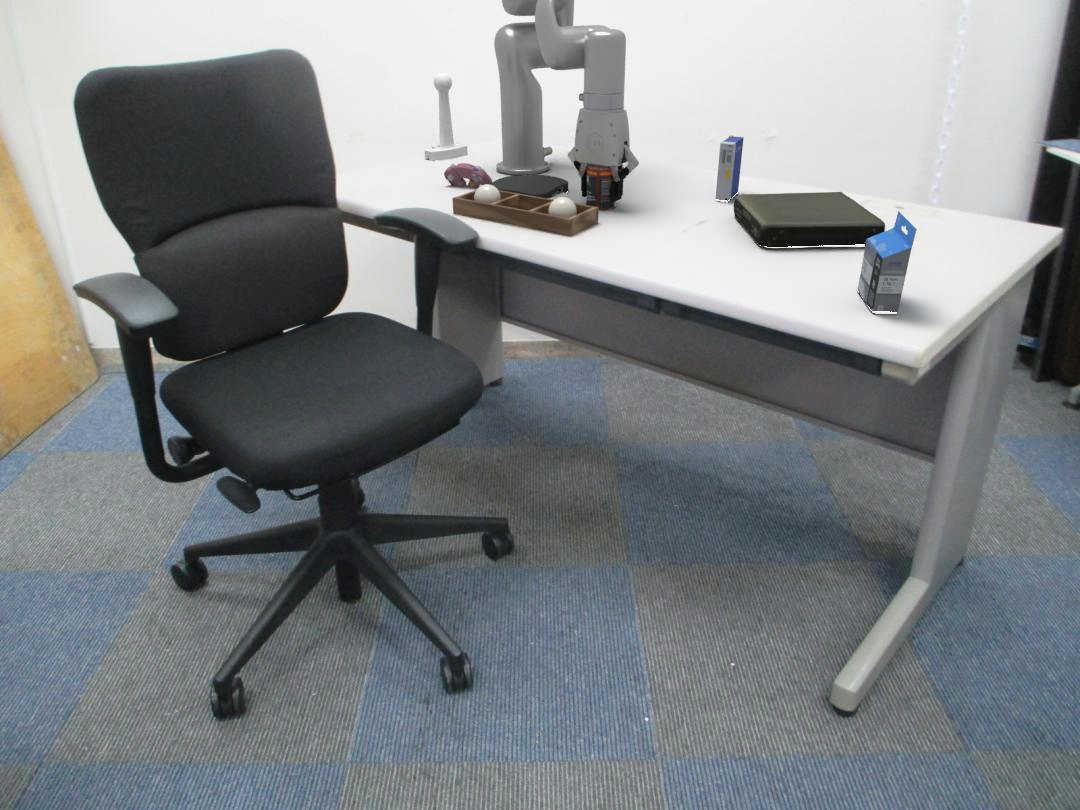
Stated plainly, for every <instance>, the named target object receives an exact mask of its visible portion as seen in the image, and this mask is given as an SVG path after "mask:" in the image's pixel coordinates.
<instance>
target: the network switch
mask: <svg viewBox="0 0 1080 810" xmlns="http://www.w3.org/2000/svg"><path fill="white" fill-rule="evenodd" d="M733 201H734V202H733V214H734V217H735V219H736V218H737V219H738V220H737V219H736V220H737V221H738V222H739V223H740V224H741V225H742V227H743V228H744V229H745V228H746V229H747V230H746V229H745V230H746V231H747V232H748V234H749V235H750V236H751V237H752V238H753V240H754V242H755V241H756V242H755V244H756V243H758V244H759V245H761V246H767V247H788V246H791V247H792V246H819V245H820V246H821V245H822V246H823V245H855V244H866V239H867V238H870V237H872V236H875V235H877V234H880V233H882V232H885V231H886V223H885V222H884V221H883V220H882V219H881V218H880V217H878V216H877V215H875V214H874V213H872V212H871V211H869V210H868V209H866V208H865V207H864V205H861V204H859V203H858V202H857V201H856V200H854V199H852V198H851V197H850V196H847V195H846V194H845V193H843V192H842V191H827V192H788V193H787V192H786V193H781V192H780V193H750V194H749V193H747V194H746V193H741V194H739V195H736V196H735V197H734V200H733ZM758 244H757V245H758ZM759 245H758V246H759ZM761 246H760V247H761Z"/></svg>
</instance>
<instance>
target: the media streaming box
mask: <svg viewBox="0 0 1080 810" xmlns="http://www.w3.org/2000/svg"><path fill="white" fill-rule="evenodd" d="M490 185H493V186H495V187H496V188H497V189H498V190H501V191H507V192H513V193H519V194H525V195H530V196H536V197H542V198H548V199H551V198H552V197H554V196H556V195H559V194H560V193H562V194H563V193H565V194H567V193H566V192H567V191H568V192H569V182H568V180H566V179H563V178H560V177H557V176H553V175H548V174H530V175H507V176H503V177H500V178H498V179H496V180H494V181H492V183H491V184H490Z"/></svg>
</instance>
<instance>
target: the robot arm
mask: <svg viewBox="0 0 1080 810" xmlns="http://www.w3.org/2000/svg"><path fill="white" fill-rule="evenodd" d="M501 3H502V8H503V10H504V11H505V13H506V14H508V15H511V16H514V17H515V16H517V17H532V16H533V17H534V21H526V22H513V23H512V22H511V23H508V24H505V25H503V26H501V27H499V29H498V30H497V31H496V32H495V37H494V43H493V44H494V47H493V48H494V53H495V57H496V58H495V59H496V65H497V70H498V74H499V75H498V79H499V90H500V91H499V93H500V113H501V114H500V118H501V145H502V147H501V149H502V152H501V153H502V161H500V162H498V163H497V164H496V171H497V172H499V173H501V174H505V175H511V176H518V175H531V174H537V175H539V174H542V173H545V171H546V172H547V170H548V171H549V170H550V167H551V166H550V165H551V164H550V163H549V162H548V161H546V160H545V158H546V156H547V157H548V156H550V155H552V154H553V148H552V147H551V146H546V147H545V146H544V139H543V137H544V136H543V135H544V134H543V133H544V131H543V129H544V128H543V125H544V124H543V122H544V121H543V90H542V87H541V84H540V82H539V81H538V80H537V78H536V77H535V75H534V74H533V71H532V70H536V69H549V68H550V69H552V70H554V71H569V70H571V71H572V70H581V69H582V70H584V71H583V93H582V92H581V93H579V95H578V100H579V101H582V105H583V107H581V108H579V111H578V115H577V116H578V117H577V120H576V126H575V127H576V128H575V138H574V146H573V147H572V149H570V151H569V152H568V153H567V157H568V159H569V160H570V161H571V162H572V164H573V166H574V168H575V170H577V172H578V173H577V174H578V176H580V191H581V198H587V166H588V164H589V165H596V166H603V167H610V168H611V171H612V175H613V178H614V181H612V182H611V202H616V203H617V202H618V201H621V199H622V197H623V196H624V194H623V193H624V180H625V179H626V178H627V177H628V175H630V174H631V173H632V171H633V170H635V168H637V167H638V165H639V164H640V161H639V160H638V158H637V157H636V156H635V154H634V153H633V152H632V150H631V149H630V147H631V146H630V145H631V144H630V127H629V125H630V124H629V117H628V112H627V110H626V109H625V84H626V83H625V80H626V75H625V74H626V51H627V50H626V49H627V37H626V34H625V33H624V32H623V31H622V30H620V29H615V28H609V27H608V26H606V25H601V24H591V25H590V24H589V25H584V24H583V25H574V17H575V16H574V15H575V14H574V13H575V0H501ZM625 163H627V164H626V165H625V166H624V164H625Z"/></svg>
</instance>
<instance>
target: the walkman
mask: <svg viewBox="0 0 1080 810" xmlns="http://www.w3.org/2000/svg"><path fill="white" fill-rule="evenodd" d="M719 144H720V145H719V155H718V156H719V157H718V167H717V168H718V169H717V176H716V177H717V178H716V186H715V187H716V190H715V199H719V200H727V201H728V200H729V199H730V198H732V197H733V196H734V195H735V194H736V193H737V192H738V193H739V185H740V179H741V178H740V176H741V169H742V168H741V166H742V157H743V147H744V136H734V135H729V136H728V138H725V139H724V140H723V141H722V142H720V143H719Z"/></svg>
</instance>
